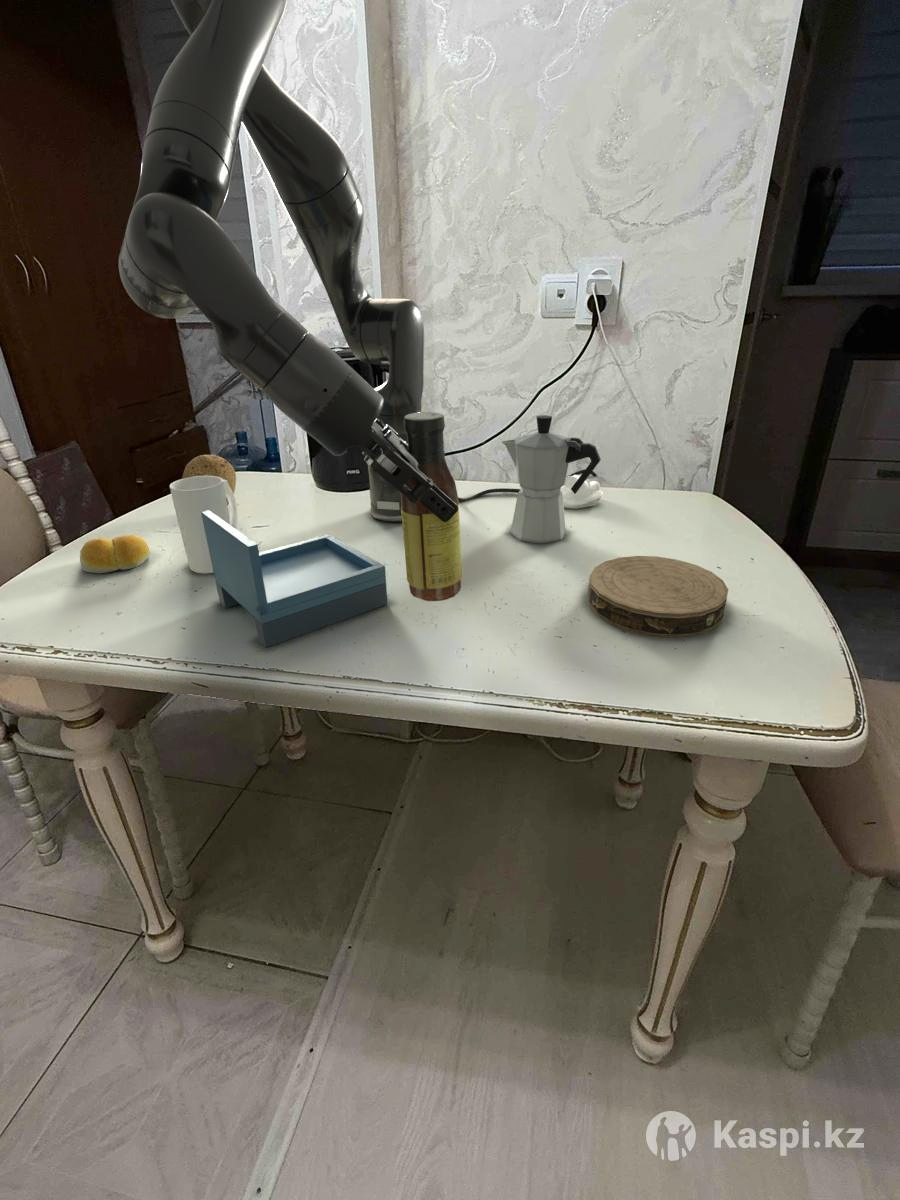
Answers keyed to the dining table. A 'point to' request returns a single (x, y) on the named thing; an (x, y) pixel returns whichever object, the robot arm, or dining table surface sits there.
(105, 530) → the dining table surface
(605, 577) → the wood log slice
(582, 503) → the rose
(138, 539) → the bread roll
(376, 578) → the shelf
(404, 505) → the sauce bottle
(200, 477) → the mug
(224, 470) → the natural sponge
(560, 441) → the coffee maker
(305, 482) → the dining table surface
